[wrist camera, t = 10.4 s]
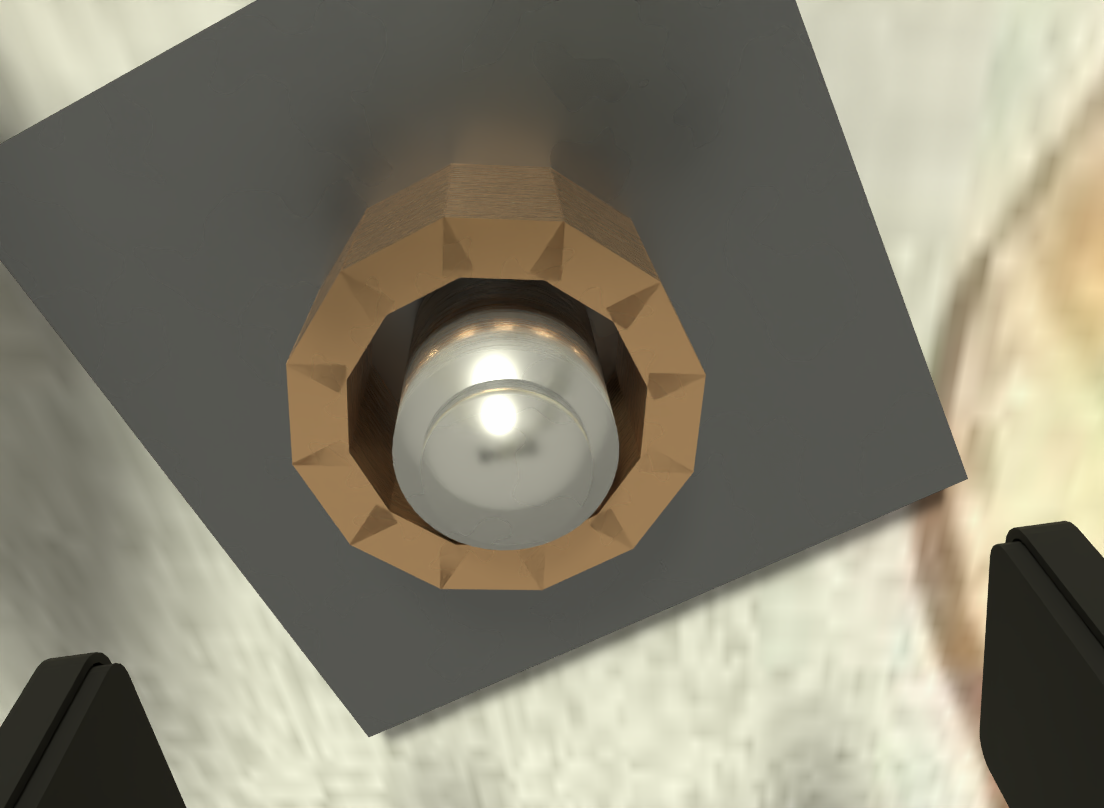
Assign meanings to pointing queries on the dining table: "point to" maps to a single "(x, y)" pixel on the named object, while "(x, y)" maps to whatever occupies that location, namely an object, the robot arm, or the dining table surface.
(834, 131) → the block
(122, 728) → the robot arm
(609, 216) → the copper ring
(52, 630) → the dining table surface
